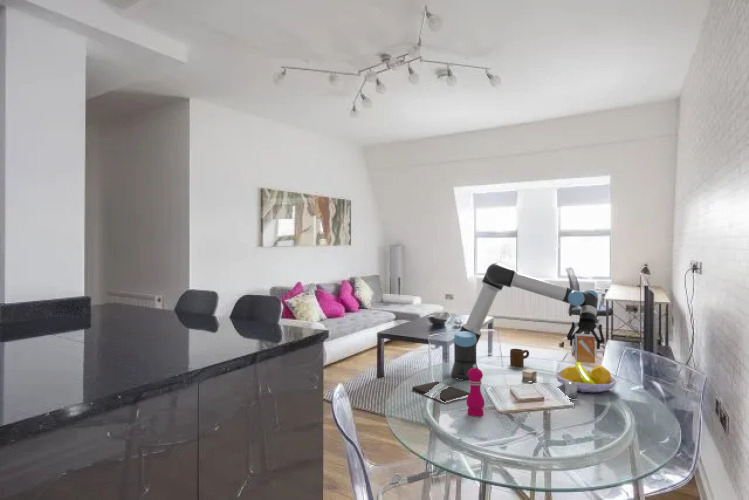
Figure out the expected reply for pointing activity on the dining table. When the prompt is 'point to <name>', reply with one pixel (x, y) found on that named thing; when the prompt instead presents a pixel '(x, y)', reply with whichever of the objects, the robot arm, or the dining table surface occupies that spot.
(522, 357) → the mug
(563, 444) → the dining table surface
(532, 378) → the birch block
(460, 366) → the robot arm
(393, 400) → the dining table surface
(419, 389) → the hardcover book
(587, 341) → the small box
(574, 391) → the grey metal tin
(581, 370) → the fruit bowl
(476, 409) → the pepper mill
